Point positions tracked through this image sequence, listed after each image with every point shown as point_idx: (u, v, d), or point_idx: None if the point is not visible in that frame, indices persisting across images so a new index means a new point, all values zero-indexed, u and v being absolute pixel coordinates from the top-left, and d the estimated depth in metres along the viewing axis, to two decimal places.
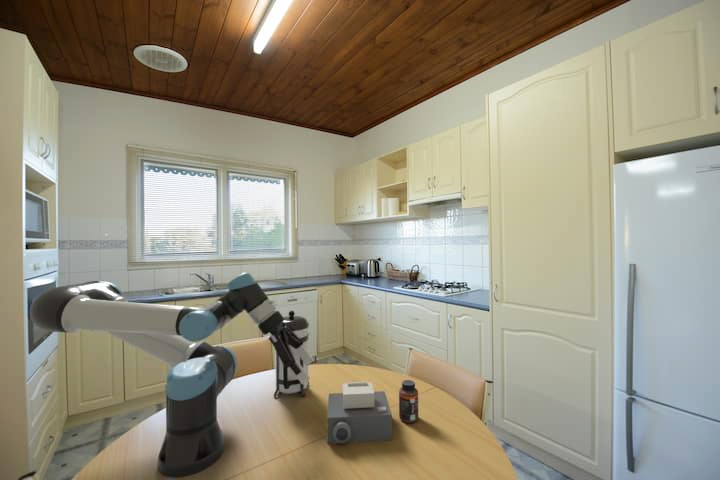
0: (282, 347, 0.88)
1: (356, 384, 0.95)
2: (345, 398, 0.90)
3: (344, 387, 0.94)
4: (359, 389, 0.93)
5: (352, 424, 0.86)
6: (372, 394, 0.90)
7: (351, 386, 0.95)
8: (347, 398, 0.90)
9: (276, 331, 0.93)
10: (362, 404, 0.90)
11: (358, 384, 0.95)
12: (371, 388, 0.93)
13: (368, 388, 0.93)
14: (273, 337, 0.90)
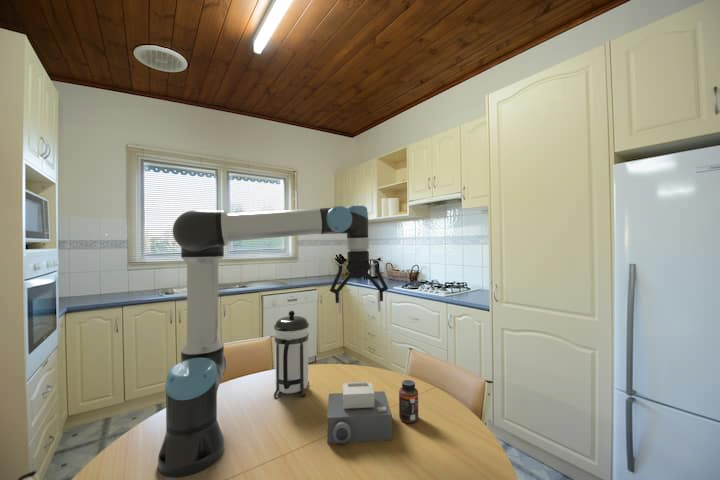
0: None
1: (356, 384, 0.95)
2: (345, 398, 0.90)
3: (344, 387, 0.94)
4: (359, 389, 0.93)
5: (352, 424, 0.86)
6: (372, 394, 0.90)
7: (351, 386, 0.95)
8: (347, 398, 0.90)
9: None
10: (362, 404, 0.90)
11: (358, 384, 0.95)
12: (371, 388, 0.93)
13: (368, 388, 0.93)
14: None
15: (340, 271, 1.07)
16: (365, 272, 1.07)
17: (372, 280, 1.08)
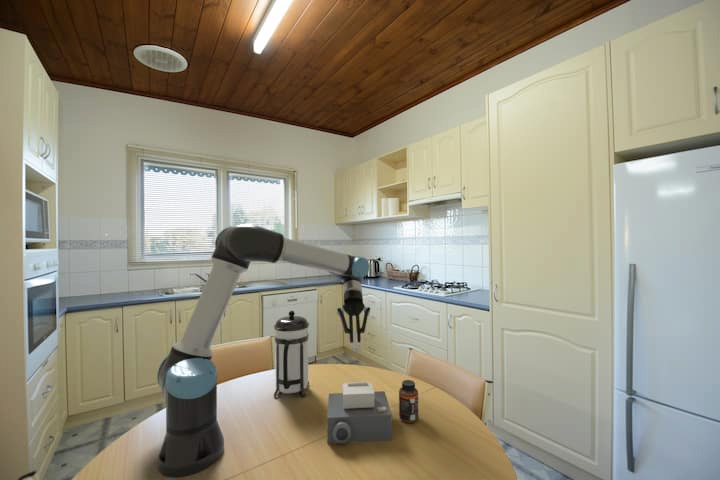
0: (366, 320, 1.18)
1: (356, 384, 0.95)
2: (345, 398, 0.90)
3: (344, 387, 0.94)
4: (359, 389, 0.93)
5: (352, 424, 0.86)
6: (372, 394, 0.90)
7: (351, 386, 0.95)
8: (347, 398, 0.90)
9: None
10: (362, 404, 0.90)
11: (358, 384, 0.95)
12: (371, 388, 0.93)
13: (368, 388, 0.93)
14: (369, 311, 1.20)
15: (341, 312, 1.18)
16: (357, 309, 1.18)
17: (357, 318, 1.16)
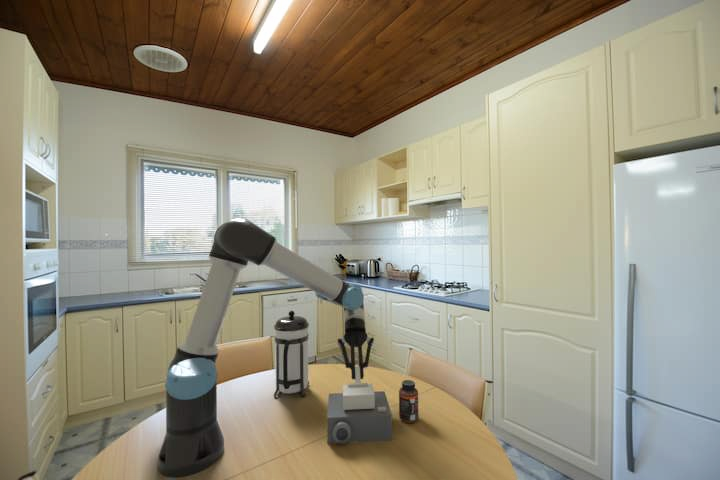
0: None
1: (356, 385, 0.94)
2: (345, 399, 0.89)
3: (344, 388, 0.94)
4: (359, 390, 0.92)
5: (352, 424, 0.86)
6: (372, 395, 0.89)
7: (351, 387, 0.94)
8: (347, 399, 0.89)
9: None
10: (362, 405, 0.89)
11: (358, 385, 0.95)
12: (371, 389, 0.93)
13: (368, 389, 0.93)
14: (373, 341, 1.09)
15: (342, 343, 1.07)
16: (359, 340, 1.07)
17: (360, 351, 1.05)
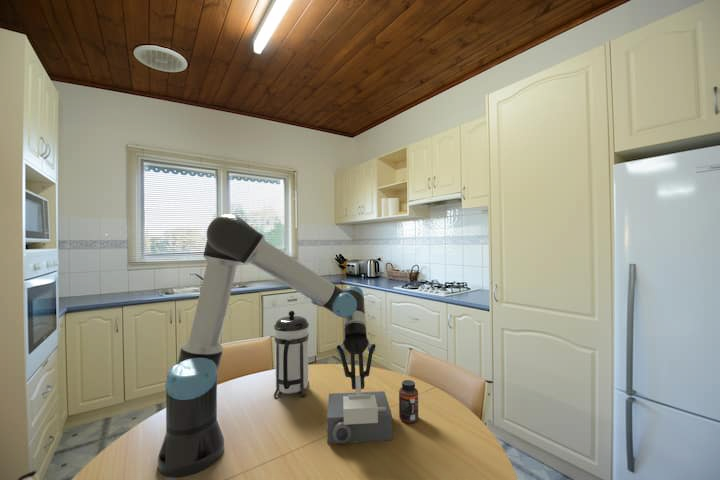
0: None
1: (358, 397, 0.87)
2: (346, 413, 0.82)
3: (344, 400, 0.86)
4: (360, 402, 0.85)
5: (352, 424, 0.86)
6: (375, 408, 0.82)
7: (352, 399, 0.87)
8: (348, 413, 0.82)
9: None
10: (364, 419, 0.82)
11: (360, 397, 0.87)
12: (374, 401, 0.85)
13: (371, 401, 0.85)
14: None
15: (341, 350, 1.00)
16: (360, 346, 1.00)
17: (361, 358, 0.98)
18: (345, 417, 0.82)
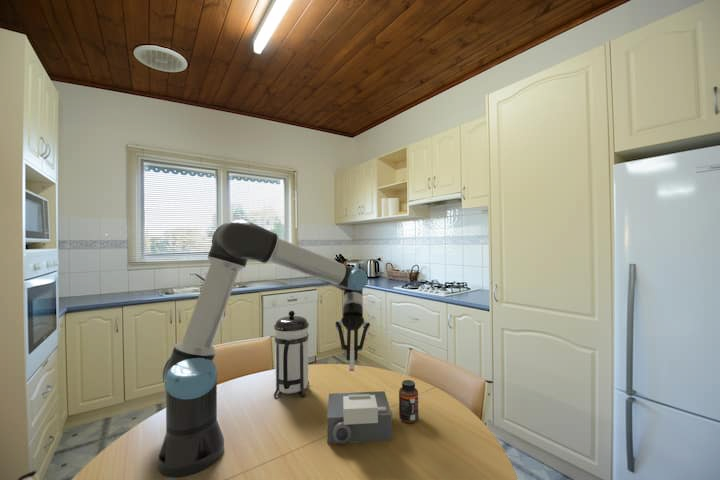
0: None
1: (358, 397, 0.87)
2: (346, 413, 0.82)
3: (344, 400, 0.86)
4: (360, 402, 0.85)
5: (352, 424, 0.86)
6: (375, 408, 0.82)
7: (352, 399, 0.87)
8: (348, 413, 0.82)
9: None
10: (364, 419, 0.82)
11: (360, 397, 0.87)
12: (374, 401, 0.85)
13: (371, 401, 0.85)
14: None
15: (339, 326, 1.13)
16: (356, 324, 1.14)
17: (356, 334, 1.12)
18: (345, 417, 0.82)
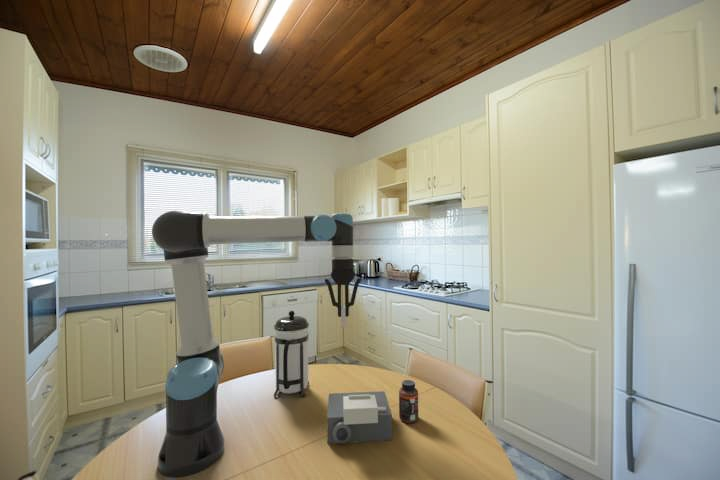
0: None
1: (358, 397, 0.87)
2: (346, 413, 0.82)
3: (344, 400, 0.86)
4: (360, 402, 0.85)
5: (352, 424, 0.86)
6: (375, 408, 0.82)
7: (352, 399, 0.87)
8: (348, 413, 0.82)
9: None
10: (364, 419, 0.82)
11: (360, 397, 0.87)
12: (374, 401, 0.85)
13: (371, 401, 0.85)
14: None
15: (329, 284, 1.07)
16: (346, 281, 1.07)
17: (346, 292, 1.07)
18: (345, 417, 0.82)
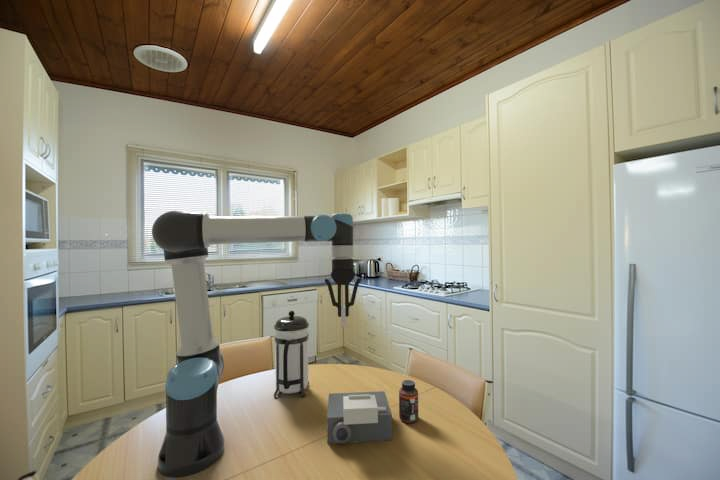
0: None
1: (358, 397, 0.87)
2: (346, 413, 0.82)
3: (344, 400, 0.86)
4: (360, 402, 0.85)
5: (352, 424, 0.86)
6: (375, 408, 0.82)
7: (352, 399, 0.87)
8: (348, 413, 0.82)
9: None
10: (364, 419, 0.82)
11: (360, 397, 0.87)
12: (374, 401, 0.85)
13: (371, 401, 0.85)
14: None
15: (329, 284, 1.07)
16: (346, 281, 1.07)
17: (346, 292, 1.07)
18: (345, 417, 0.82)
